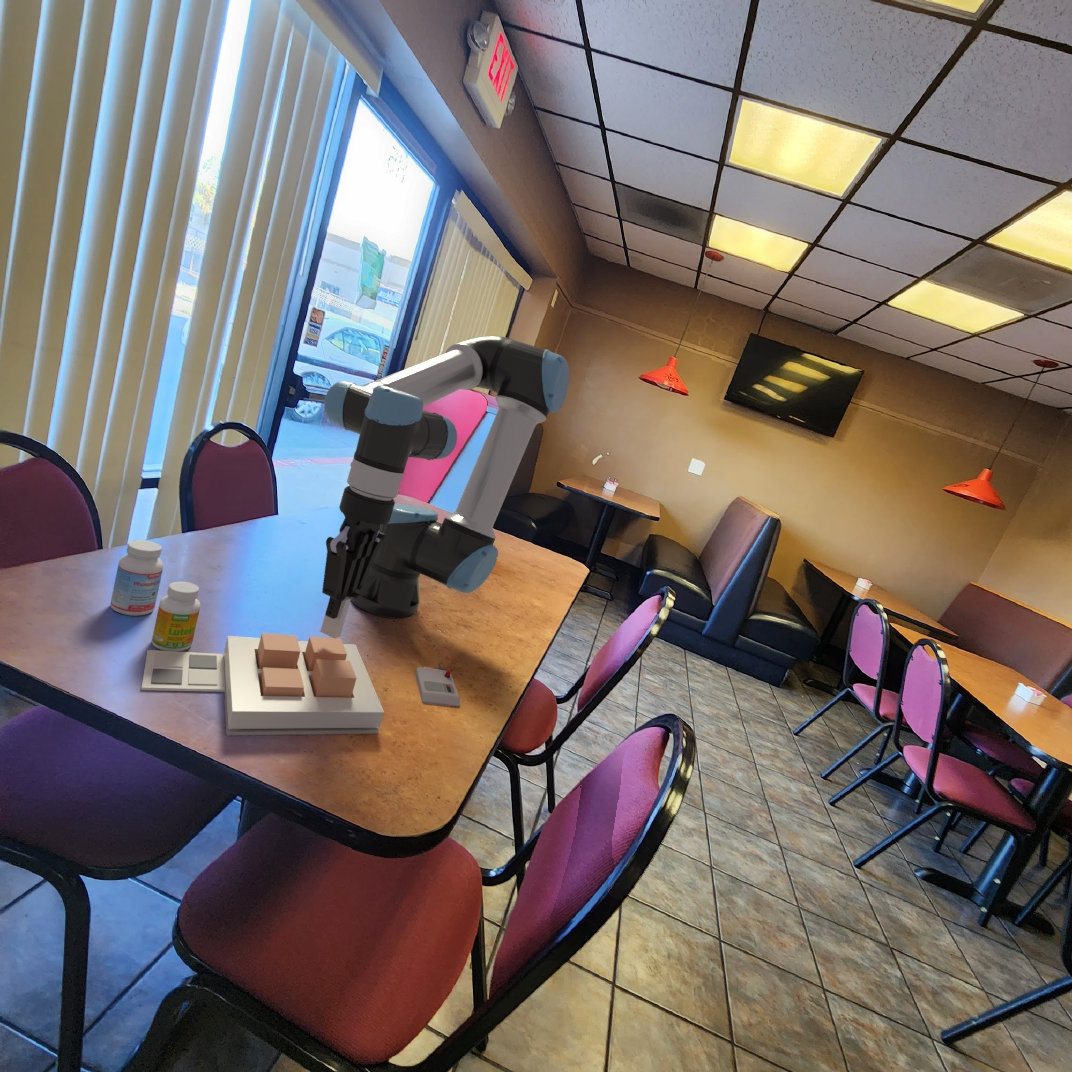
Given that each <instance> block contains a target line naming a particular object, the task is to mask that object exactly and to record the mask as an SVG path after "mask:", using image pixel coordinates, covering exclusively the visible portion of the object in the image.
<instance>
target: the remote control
mask: <svg viewBox="0 0 1072 1072" xmlns="http://www.w3.org/2000/svg"><path fill="white" fill-rule="evenodd" d="M438 666H439V667H438V668H439V669H438V668H432V667H424V665H422V666H421V667H417V668H416V669H415V673H414V675H415V679H416V683H417V687H418V690H419V696H420V700H421V703H422V704H426V705H435V706H442V707H450V706H454V707H453V708H461V699H460V695H459V693H458V689H457V686H456V684H455V681H454V678H453V675H452V671H451V670H450V669H447V670H444V668H443V667H442V665H441V663H438ZM455 706H456V707H455Z"/></svg>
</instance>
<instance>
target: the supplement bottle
mask: <svg viewBox="0 0 1072 1072" xmlns="http://www.w3.org/2000/svg"><path fill="white" fill-rule="evenodd" d="M199 590H200V587H199V586H198V585H197V584H195V583H192V582H188V581H173V582H171V583H169V585H168V587H167V595H165V596H163V597H162V598H161V599H160V601H159V606H158V609H157V614H156V618H155V623H154V629H153V632H152V637H151V643H152V645H153V646H154V647H155V649H158V650H159V651H177V652H184V651H186V650H188V649H189V648H191V646H192V644H193V642H194V636H195V633H196V628H197V622H198V619H199V616H200V615H199V614H200V612H201V611H200V610H201V602H200V600H199V599H198V596H199Z"/></svg>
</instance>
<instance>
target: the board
mask: <svg viewBox="0 0 1072 1072" xmlns="http://www.w3.org/2000/svg"><path fill="white" fill-rule="evenodd" d="M260 638H261V637H250V636H249V637H248V636H236V635H227V638H226V641H225V645H224V650H223V651H224V652H223V653H222V654H223V656H224V677H225V692H224V707H225V708H224V709H225V729H226V730H225V731H226V732H225V733H226V734H225V735H226V736H281V735H282V736H291V735H295V736H296V735H348V734H349V735H354V734H355V735H359V734H362V735H363V734H366V735H367V734H368V735H369V734H378V733H379V728H380V727H381V724H382V721H383V718H384V714H385V711H384V709H383V706H382V704H381V702H380V699H379V697H378V695H377V692H376V690H375V688H374V687H375V686H374V685H373V683H372V680H371V678H370V675H369V673H368V671H367V668H366V666H365V663H364V661H363V659H362V657H361V654H360V652H359V649H358V647H357V644H353V643H343V645H344V647H345V650H346V653H347V656H346V660H345V661H350V663H351V665H352V668H353V670H354V673H355V676H356V678H357V679H356V682H355V686H354V689H353V692H352V696H351V698H340V697H315V693H314V689H313V686H312V682H311V676H312V673H313V671H308V667H307V663H306V660H305V656H304V655H305V651H306V647H307V644H308V640H298V644H299V648H300V655H299V659H298V662H297V666H296V669H300V673H301V677H302V681H303V685H304V690H303V693H302V697H289V696H261V693H260V686H259V681H260V677H261V673H262V669H259V664H258V657H257V650H258V646H259V642H260Z"/></svg>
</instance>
